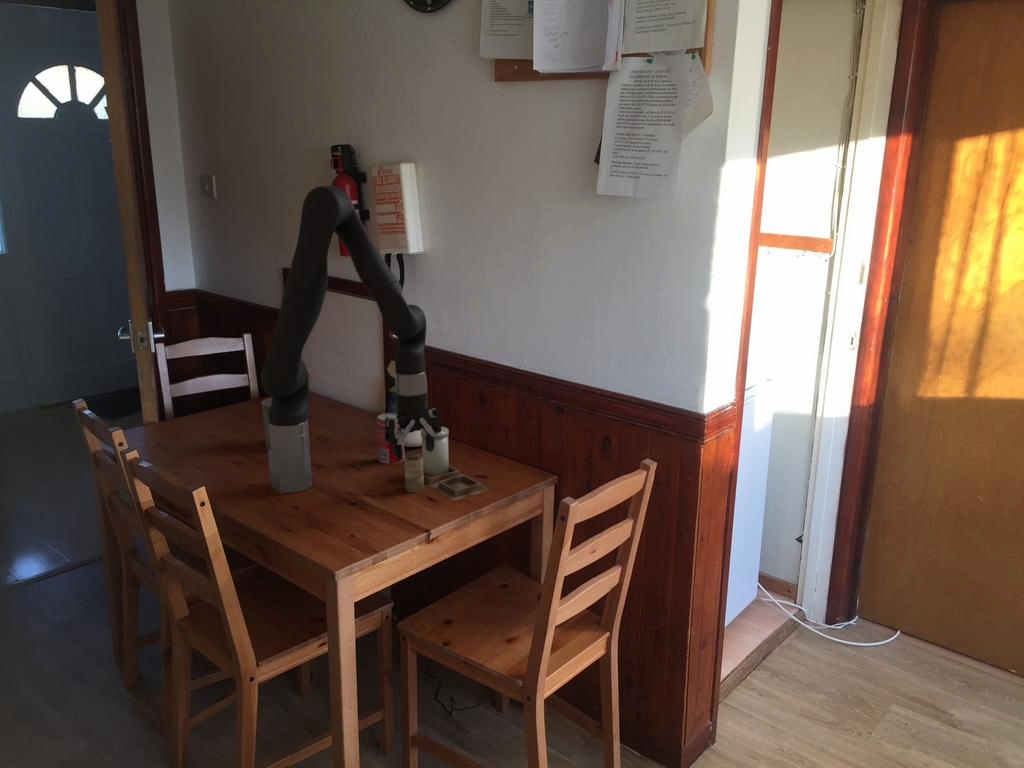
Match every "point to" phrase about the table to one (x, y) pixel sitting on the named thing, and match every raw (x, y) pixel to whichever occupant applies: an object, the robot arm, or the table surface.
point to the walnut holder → (454, 485)
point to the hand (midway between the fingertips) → (414, 454)
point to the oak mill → (414, 472)
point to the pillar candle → (266, 420)
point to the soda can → (384, 447)
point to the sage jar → (436, 454)
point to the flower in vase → (414, 437)
